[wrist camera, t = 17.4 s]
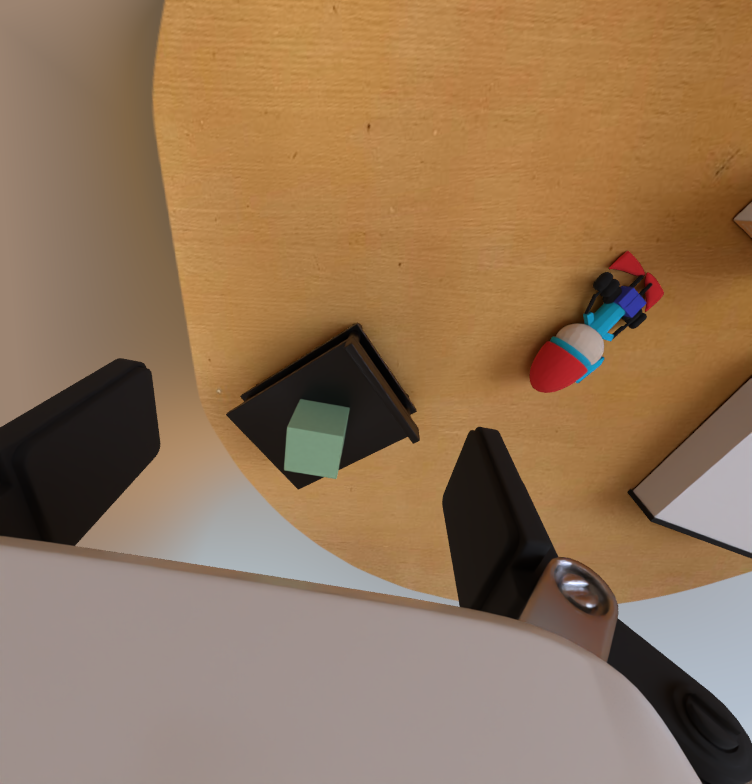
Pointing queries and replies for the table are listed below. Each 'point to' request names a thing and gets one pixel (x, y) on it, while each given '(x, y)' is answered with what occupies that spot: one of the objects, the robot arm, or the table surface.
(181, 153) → the table surface
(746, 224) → the small box
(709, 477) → the disc drive
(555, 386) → the toy figure
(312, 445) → the cube
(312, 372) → the plate
